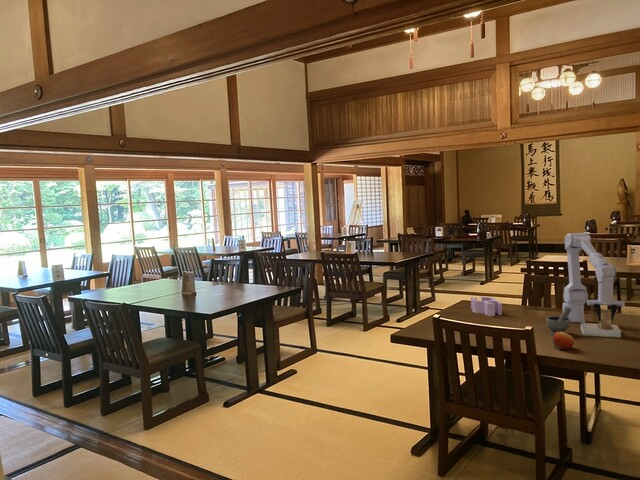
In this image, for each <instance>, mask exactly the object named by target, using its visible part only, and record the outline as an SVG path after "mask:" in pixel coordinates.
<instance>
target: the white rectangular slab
mask: <svg viewBox="0 0 640 480" xmlns="http://www.w3.org/2000/svg"><path fill="white" fill-rule="evenodd" d="M580 331H581V332H582V335H583V336H587V337H588V336H589V337H606V338H618V339H619V338H621V337H622V331H621V329H620V327H619V326H618V325H617V324H611V329H603V328H600V323H589V322H585V323H580Z"/></svg>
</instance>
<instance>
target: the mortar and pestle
mask: <svg viewBox="0 0 640 480" xmlns="http://www.w3.org/2000/svg"><path fill="white" fill-rule="evenodd" d="M570 311H571V309H570V308H568V307H565V310H564V311H563V310H562V313H561V314H560V315H559V316H557V315H553V316H552V315H550V316H547V317H546V318H545V323H546V326H547V327H548V328H549V329H550V334H551V335H554V334H555V333H556V332H564V333H566V331H567V330H568V329H569V327H570V324H571V322H570V319H569V318H567V317H568V315H569V313H570Z"/></svg>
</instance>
